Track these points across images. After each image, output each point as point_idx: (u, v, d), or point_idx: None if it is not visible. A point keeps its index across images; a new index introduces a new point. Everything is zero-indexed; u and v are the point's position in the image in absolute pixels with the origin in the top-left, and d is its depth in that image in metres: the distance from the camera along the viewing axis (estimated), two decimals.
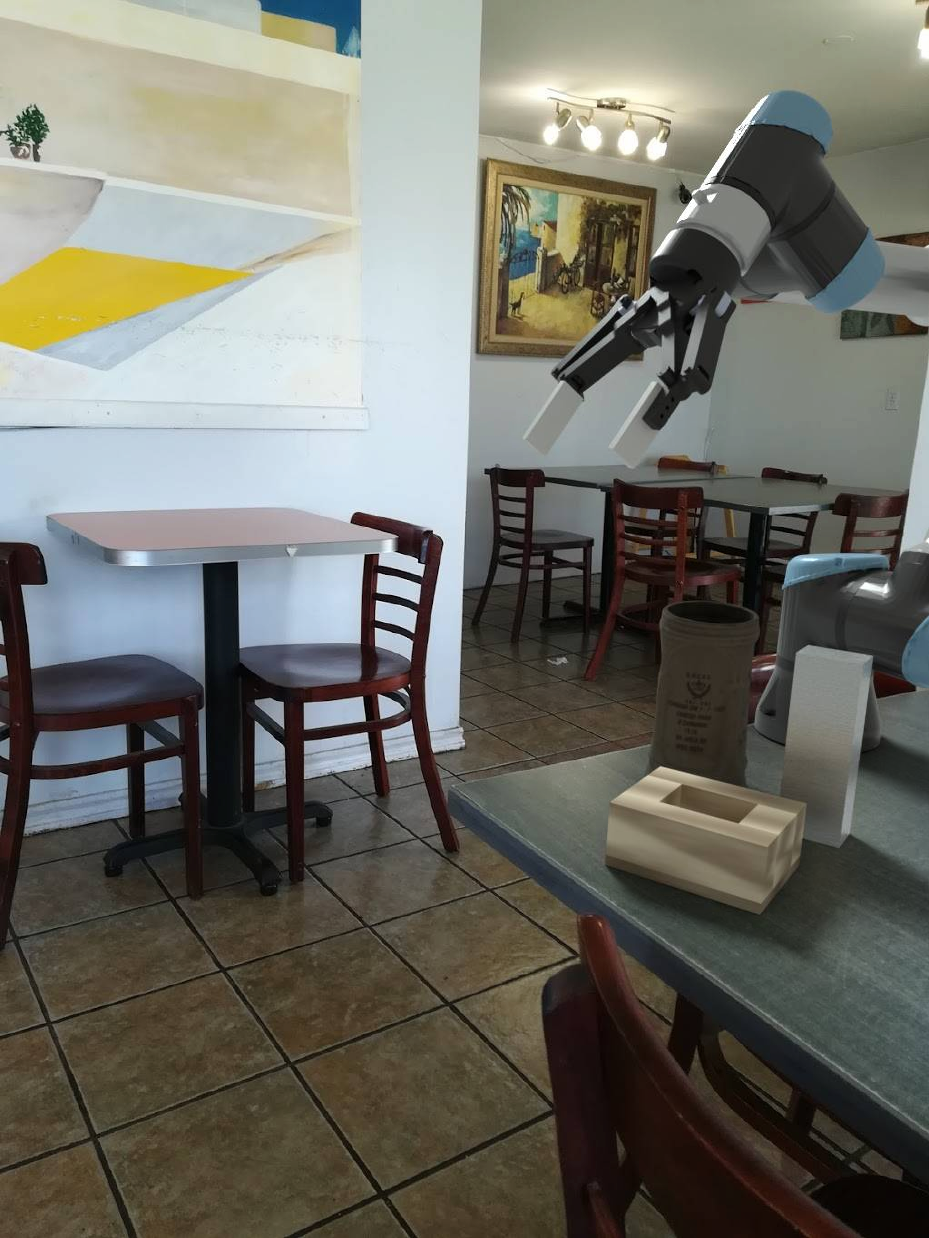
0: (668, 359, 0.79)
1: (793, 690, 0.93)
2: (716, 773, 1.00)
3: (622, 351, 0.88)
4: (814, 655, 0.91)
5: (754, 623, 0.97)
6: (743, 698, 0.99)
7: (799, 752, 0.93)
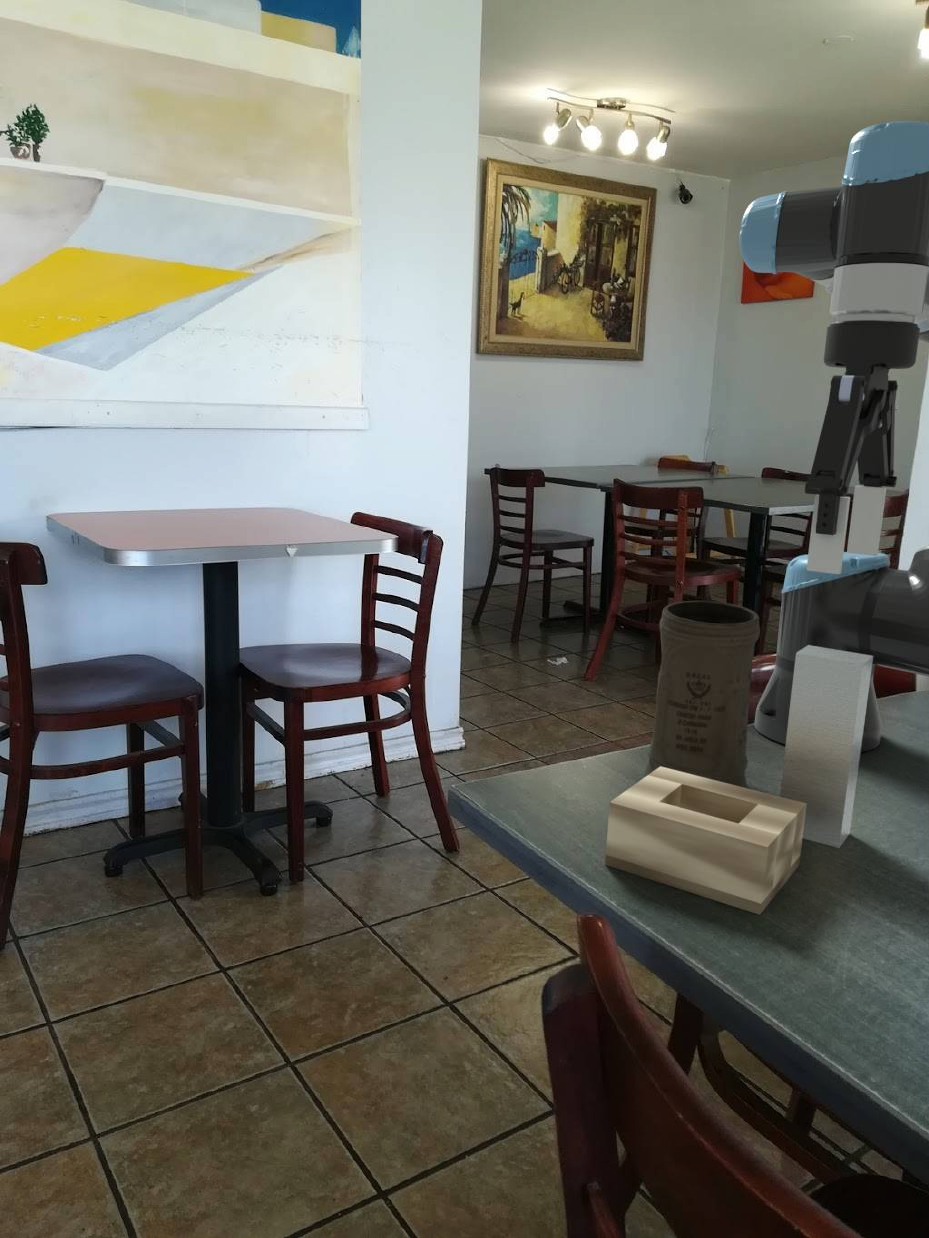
0: None
1: (793, 690, 0.93)
2: (716, 773, 1.00)
3: (873, 438, 0.90)
4: (814, 655, 0.91)
5: (754, 623, 0.97)
6: (743, 698, 0.99)
7: (799, 752, 0.93)
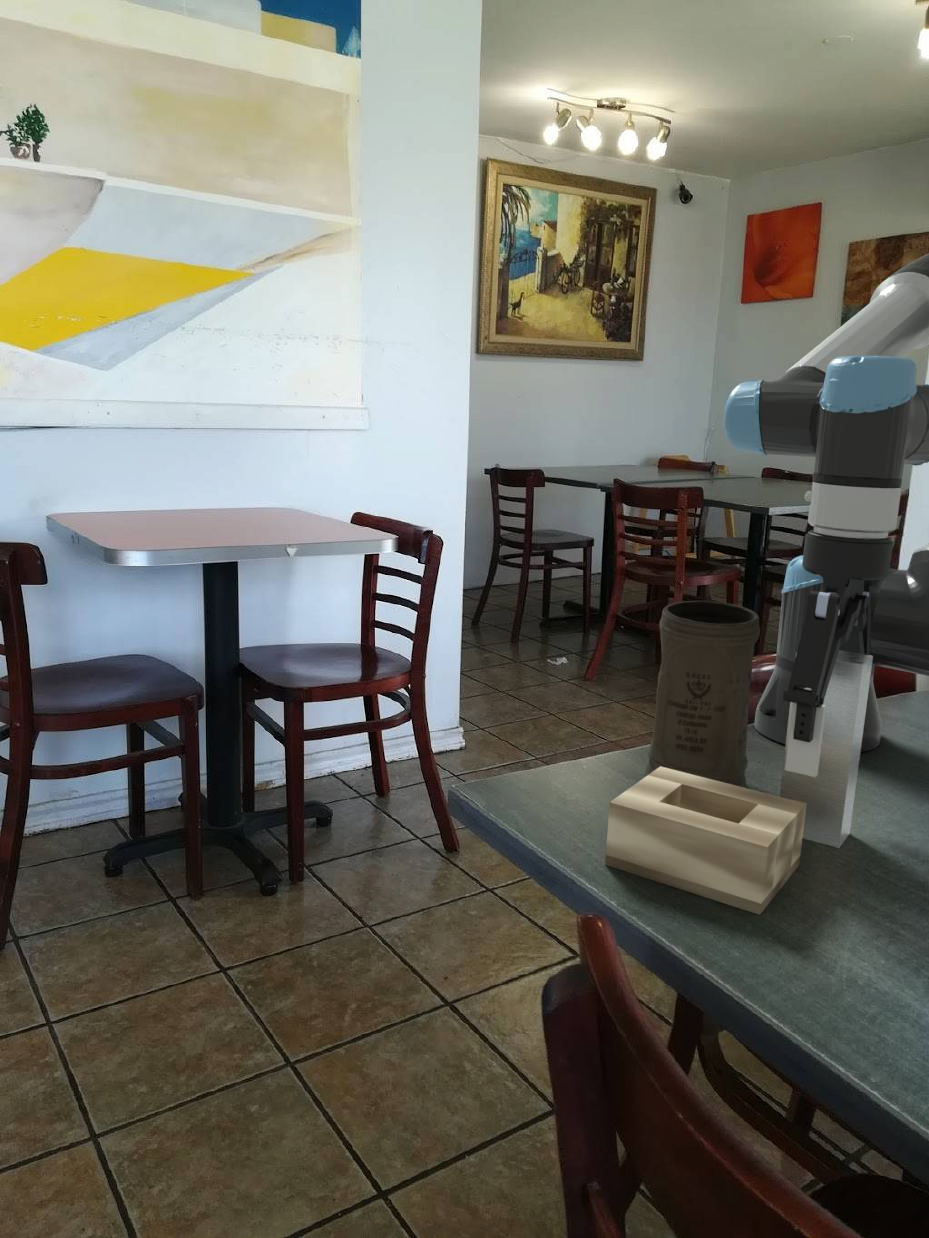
0: None
1: None
2: (716, 773, 1.00)
3: (849, 633, 0.94)
4: None
5: (754, 623, 0.97)
6: (743, 698, 0.99)
7: None
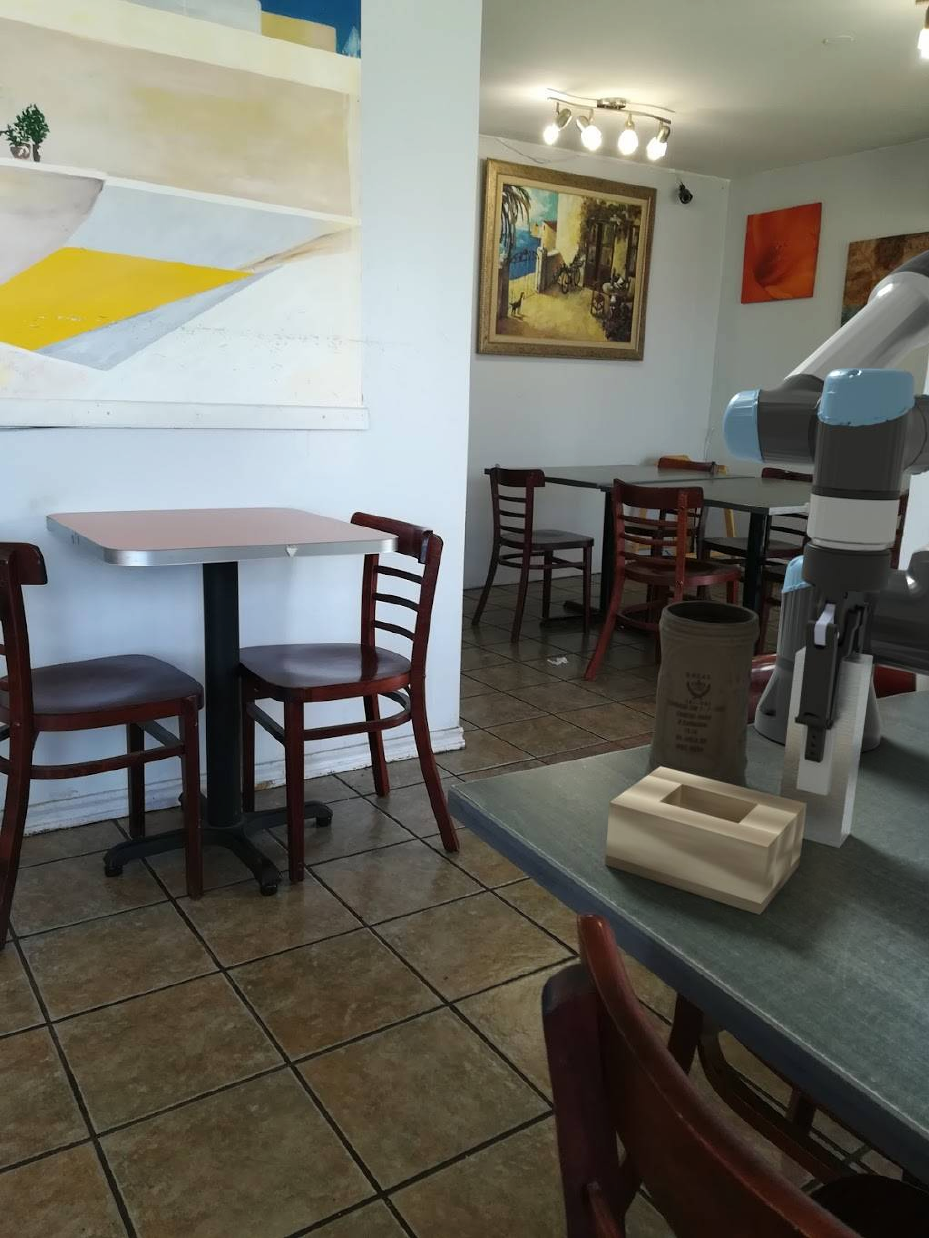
0: None
1: (793, 690, 0.93)
2: (716, 773, 1.00)
3: None
4: None
5: (754, 623, 0.97)
6: (743, 698, 0.99)
7: (799, 752, 0.93)
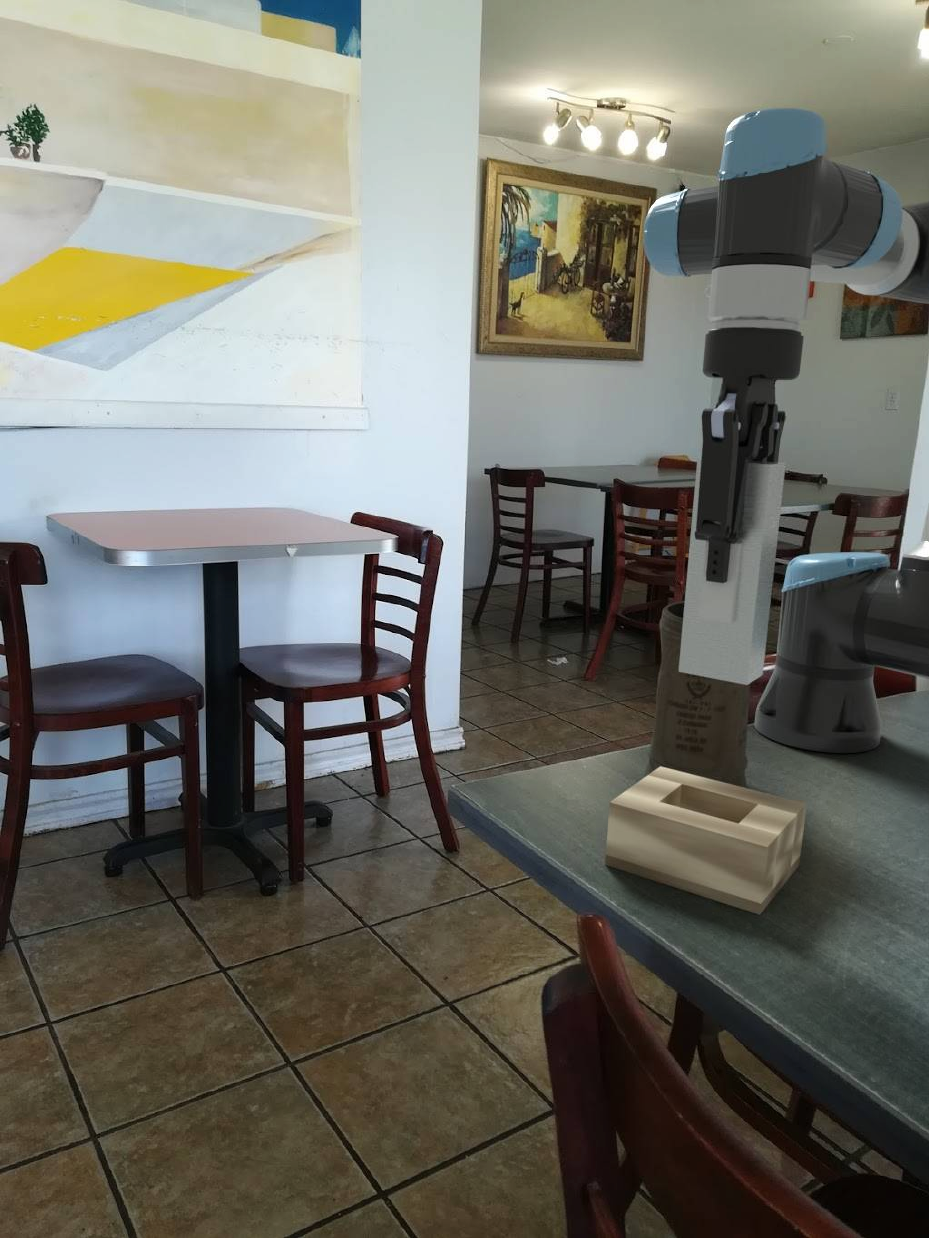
0: None
1: (695, 504, 0.81)
2: (716, 773, 1.00)
3: None
4: None
5: None
6: (743, 698, 0.99)
7: None
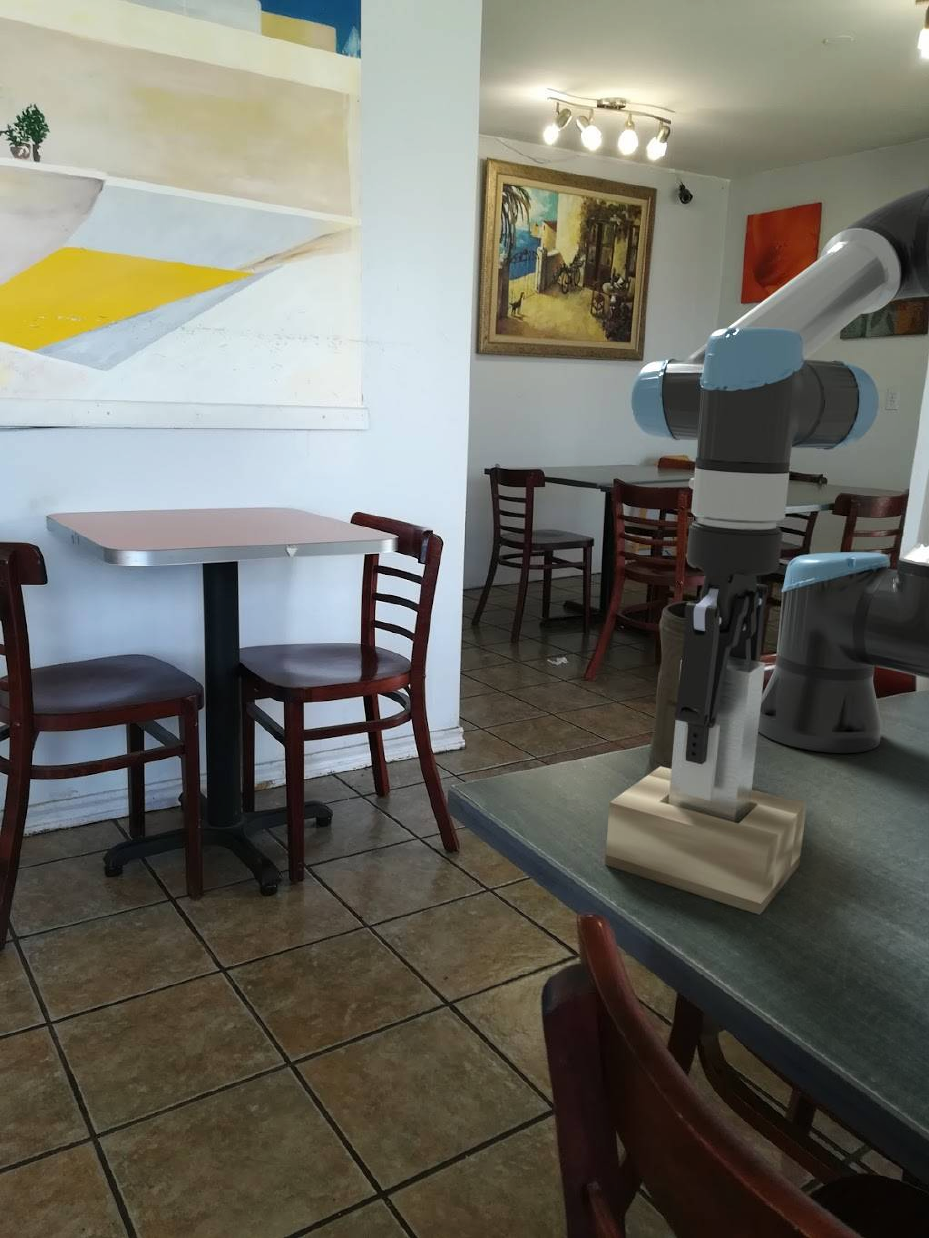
0: None
1: None
2: None
3: None
4: None
5: None
6: None
7: None
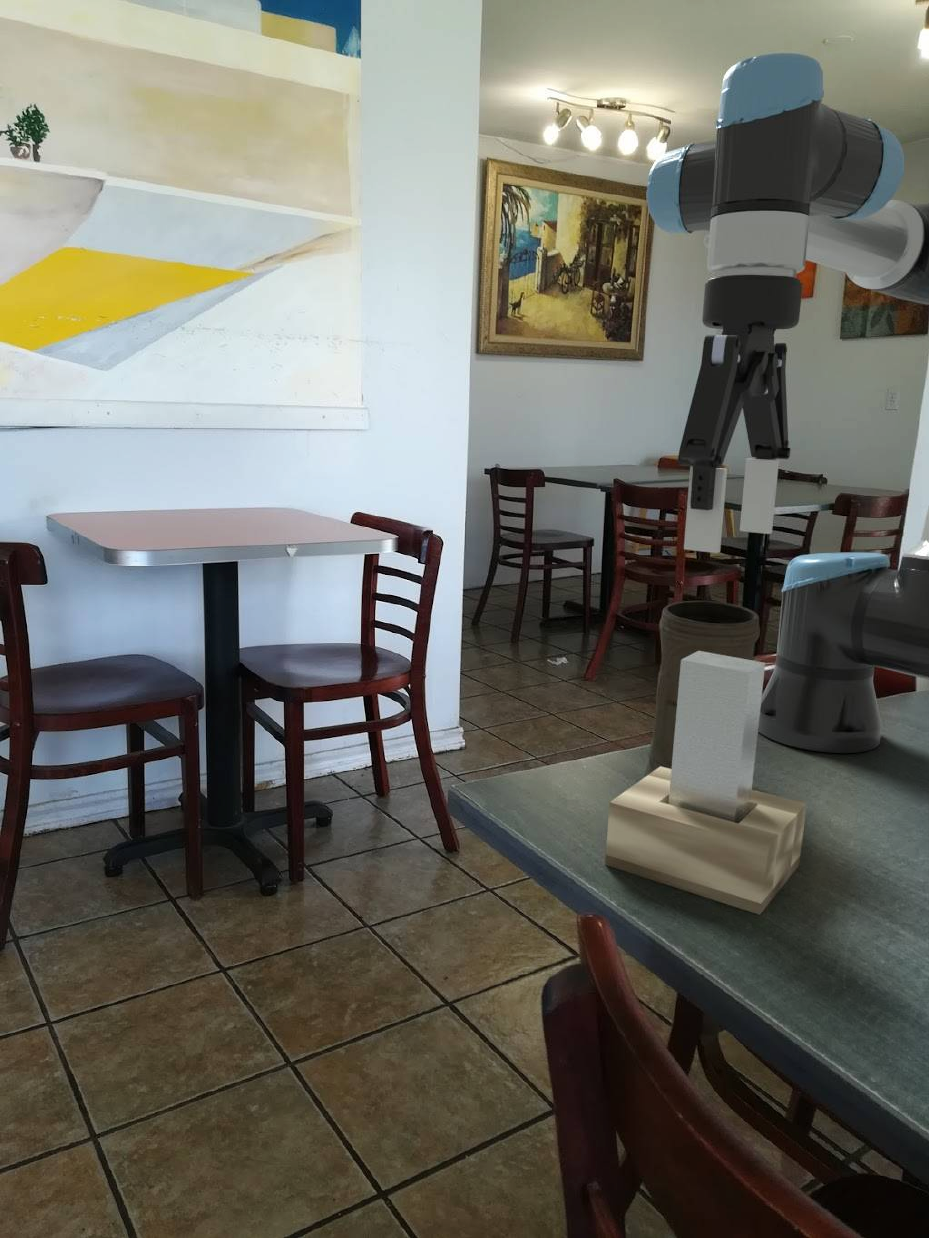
0: None
1: (679, 700, 0.85)
2: None
3: (760, 406, 0.83)
4: (700, 662, 0.84)
5: (754, 623, 0.97)
6: None
7: (687, 768, 0.86)
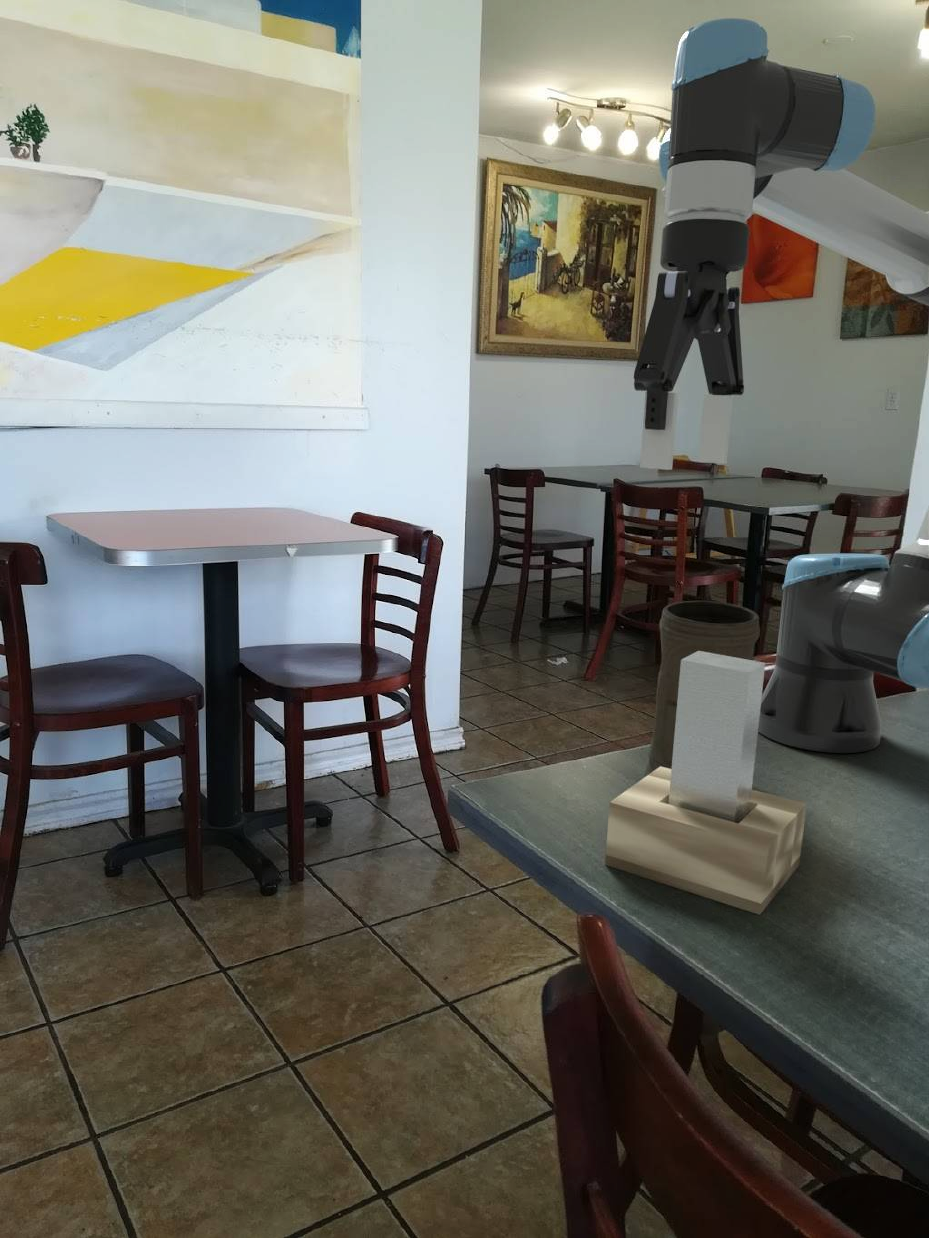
0: None
1: (679, 700, 0.85)
2: None
3: (714, 343, 0.92)
4: (700, 662, 0.84)
5: (754, 623, 0.97)
6: None
7: (687, 768, 0.86)
